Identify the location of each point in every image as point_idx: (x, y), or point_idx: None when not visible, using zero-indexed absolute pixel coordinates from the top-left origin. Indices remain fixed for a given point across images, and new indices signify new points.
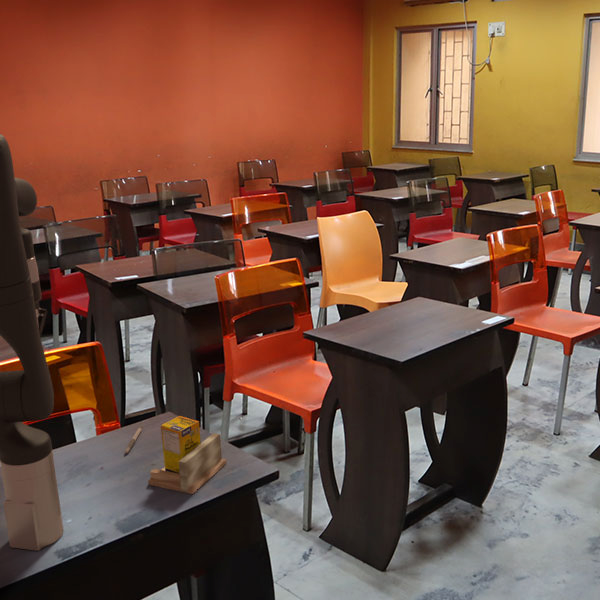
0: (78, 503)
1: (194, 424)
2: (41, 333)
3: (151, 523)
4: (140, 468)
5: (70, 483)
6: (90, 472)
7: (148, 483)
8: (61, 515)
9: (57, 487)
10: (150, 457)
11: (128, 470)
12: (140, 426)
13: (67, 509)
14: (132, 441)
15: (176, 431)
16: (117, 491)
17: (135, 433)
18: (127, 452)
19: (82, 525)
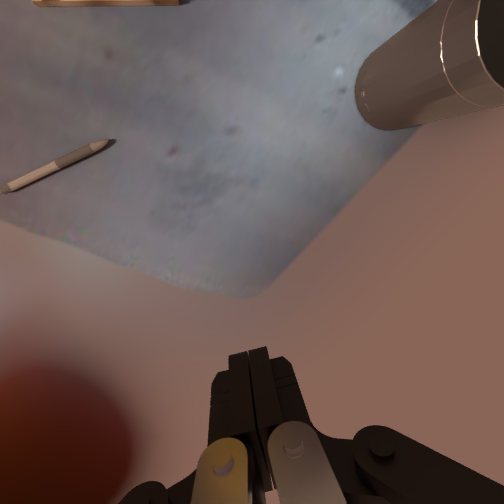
0: (289, 98)
1: None
2: (124, 501)
3: None
4: (136, 71)
5: (242, 166)
6: (196, 160)
7: (178, 4)
8: (383, 44)
9: (420, 15)
10: (89, 82)
11: (154, 91)
12: (2, 189)
13: (312, 103)
14: (65, 156)
15: None
16: (227, 54)
17: (34, 177)
18: (103, 140)
19: (344, 34)
